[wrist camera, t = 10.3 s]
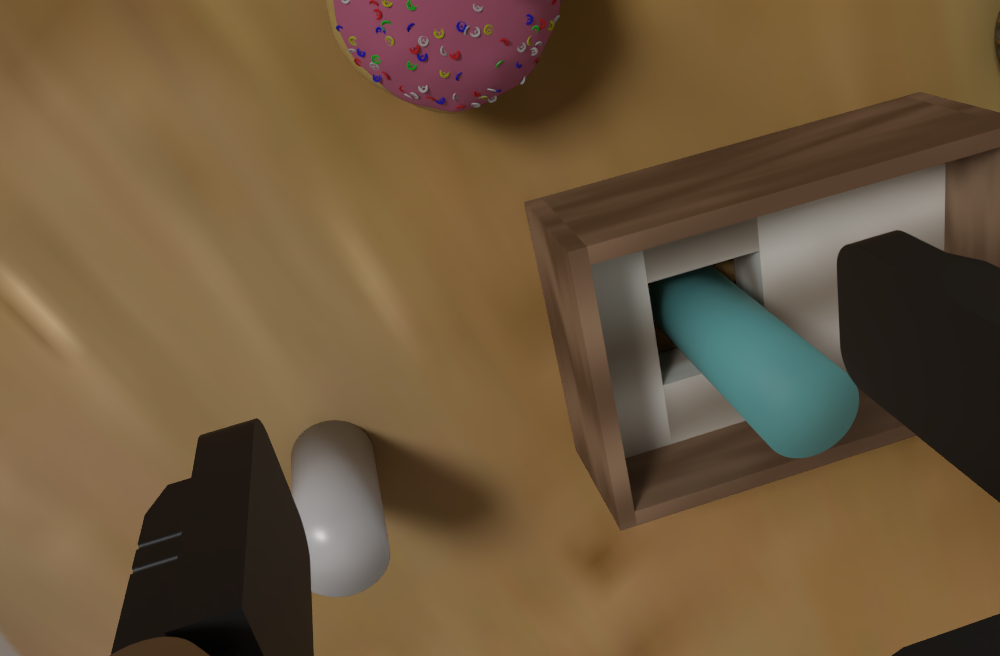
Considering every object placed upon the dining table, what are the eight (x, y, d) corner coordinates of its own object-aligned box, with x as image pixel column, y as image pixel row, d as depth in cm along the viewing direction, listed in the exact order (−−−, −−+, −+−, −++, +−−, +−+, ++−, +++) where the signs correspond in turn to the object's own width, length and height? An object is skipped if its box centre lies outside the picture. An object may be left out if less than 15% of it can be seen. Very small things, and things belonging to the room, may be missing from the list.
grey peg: (280, 434, 43) (278, 535, 35) (360, 410, 43) (375, 506, 36) (305, 499, 44) (309, 608, 37) (382, 476, 45) (400, 579, 38)
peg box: (524, 202, 40) (567, 252, 34) (920, 92, 42) (1028, 120, 36) (576, 450, 47) (620, 530, 40) (919, 343, 49) (1012, 404, 42)
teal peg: (642, 271, 43) (758, 383, 33) (718, 248, 44) (857, 353, 33) (652, 342, 45) (766, 470, 34) (725, 320, 45) (860, 440, 35)
